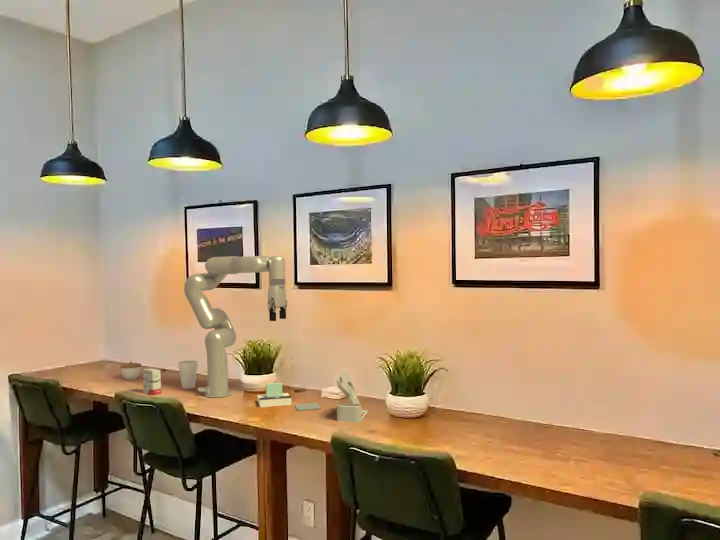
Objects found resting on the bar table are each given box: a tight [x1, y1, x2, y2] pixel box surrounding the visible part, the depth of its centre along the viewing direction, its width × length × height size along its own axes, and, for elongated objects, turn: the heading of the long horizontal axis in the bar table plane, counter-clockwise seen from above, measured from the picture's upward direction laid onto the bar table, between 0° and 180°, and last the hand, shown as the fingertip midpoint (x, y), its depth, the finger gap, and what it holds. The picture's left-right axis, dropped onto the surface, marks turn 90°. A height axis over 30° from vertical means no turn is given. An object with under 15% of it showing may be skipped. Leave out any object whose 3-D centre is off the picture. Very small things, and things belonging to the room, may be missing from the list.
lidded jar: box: [120, 361, 142, 380], centre depth 333 cm, size 11×11×9 cm
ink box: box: [142, 367, 162, 396], centre depth 295 cm, size 9×5×12 cm, turn 51°
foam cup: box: [178, 359, 199, 389], centre depth 308 cm, size 10×9×13 cm
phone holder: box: [335, 370, 369, 423], centre depth 247 cm, size 17×10×18 cm, turn 168°
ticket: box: [265, 382, 283, 397], centre depth 272 cm, size 7×2×9 cm, turn 105°
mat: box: [293, 402, 322, 412], centre depth 264 cm, size 10×10×1 cm
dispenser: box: [257, 392, 292, 408], centre depth 272 cm, size 14×11×4 cm
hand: (277, 319), depth 278 cm, fingers open, 9 cm apart
